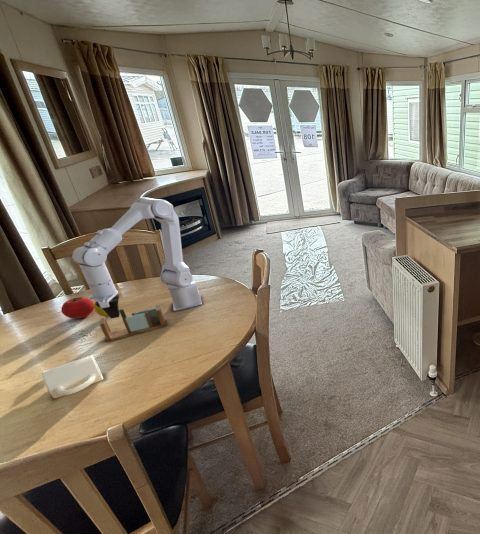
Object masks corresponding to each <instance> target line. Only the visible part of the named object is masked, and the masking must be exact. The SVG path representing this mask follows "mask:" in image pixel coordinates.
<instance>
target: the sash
mask: <svg viewBox="0 0 480 534" xmlns="http://www.w3.org/2000/svg"><path fill="white" fill-rule="evenodd" d="M119 315H120V316H121V319H122V321H123V324H124V326H125V329H127V331H128V333H130V332H133V331H137V330H140V329H144V328H148V327H153V324H152V322H151V319H150V317H149V314H148V312H145V313H142V314H138V315H134V316H132V315H131V316H127V315H126V312H125V310H124V308H119Z"/></svg>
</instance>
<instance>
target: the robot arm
mask: <svg viewBox="0 0 480 534" xmlns="http://www.w3.org/2000/svg"><path fill="white" fill-rule="evenodd" d="M146 219H147V220H149V219H153V220H155V221H157V222H159V224H160V228H161V235H162V244H163V253H164V261H165V263H163V265H162V266H161V273H160V275H159V278H160V281H161V282H162V283H163V284H165V285H166V287H167V289H168V292H169V295H170V297H171V300H172V309H173V311H174V312H177V311H181V310H185V309H189V308H194V307H197V306H200V305H203V301H202V295H201V293H200V292H199V288H198V285H197V281H193V275H192V273H191V271H190V267H189V266H188V265H187V264H186V263H185V262H184V256H183V248H182V247H183V246H182V237H181V230H180V229H181V228H180V219H179V216H178V215H177V213H176V212H175V210H174V205H173V204H172V203H170V202H169V201H167V200H166V199H161V198H160V199H158V198H150V197H146V196H144V197H139V198H137V200H136V201H134V202H132V203H131V205H130V208H129V209H128V210H127V211H126V212H125V213H124V214H123V215H122V216H121V217H120V218H119V219H118V220H117V221H115V223H114V224H113V225H112V226H111V227H110V228H103V229H101V230H100V229H99V230H97V231H96V232H95V233H96V235H95V236H93V237H92V238H91V239H90V240H89V241H86V242H84V243H83V246H78V247H76V248H75V249H74V250H73V251H72V254H71V257H70V259H71V261H72V262H74V263H75V264H78V266H79V268H80V270H81V273H82V275H83V277H84V278H85V281H86V284H87V286H88V287H89V290H90V293H91V295H89V296H88V299H90V300H94V301H95V302H96V301H97V302H96V305H97V306H98V307H100V308H101V309H103V310H104V311H105V312H106V313H107V314H108V316H109V318H110V319H112V320H113V319H116V318H119V317H120V312H119V310H120V308H119V300H120V294H119V291H118V290H117V289H116V286H115V284H114V282H113V279H112V277H111V274H110V272H109V269H108V267H107V265H106V262H107V259H108V255H109V253H110V252H112V251H113V250H114V249H115V248H116V247H117V246H118V245H119V244H120V243H122V241H123V235H124V234H125V233H126V232H128V231H129V230H130V229H131V228H133V227H134V226H135V225H136V224H137V223H139V222H140V221H141V220H146ZM108 316H107V317H108Z"/></svg>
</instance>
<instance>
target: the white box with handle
mask: <svg viewBox="0 0 480 534" xmlns="http://www.w3.org/2000/svg"><path fill="white" fill-rule="evenodd" d="M41 376H42V379H43V382H44V385H45V387H46V389H47V391H48V392H49V394H50V396H51V397H52V398H53V399H58V398H60V397H62V396H69V395H70V396H71V395H73V394H76V393H78V392H81V391H82V390H84V389H86V388H88V387H89V386H90V385H93V384H96V383H99V382H100V381H103V380H104V376H103V374H102V371H101V368H100V367H99V364H98V362H97V360H96V358H95V357H94V355H93V354H90V355H88V356H85V357H82V358H79V359H76V360H73V361H70V362H67V363H64V364H61V365H58V366H55V367H52V368H49V369H47V370H44V371H42V373H41Z"/></svg>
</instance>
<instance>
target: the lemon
mask: <svg viewBox="0 0 480 534" xmlns="http://www.w3.org/2000/svg"><path fill="white" fill-rule="evenodd" d="M96 302H97V301H96V300H95V302H94V311H95V313H96V314H97V315H99V316H101V317H107V318H108V317H109V316H108V314H107V313H106V312H105V311H104V310H103V309H101V308H100V307H98V306H97V305H96ZM109 318H110V317H109Z"/></svg>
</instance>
